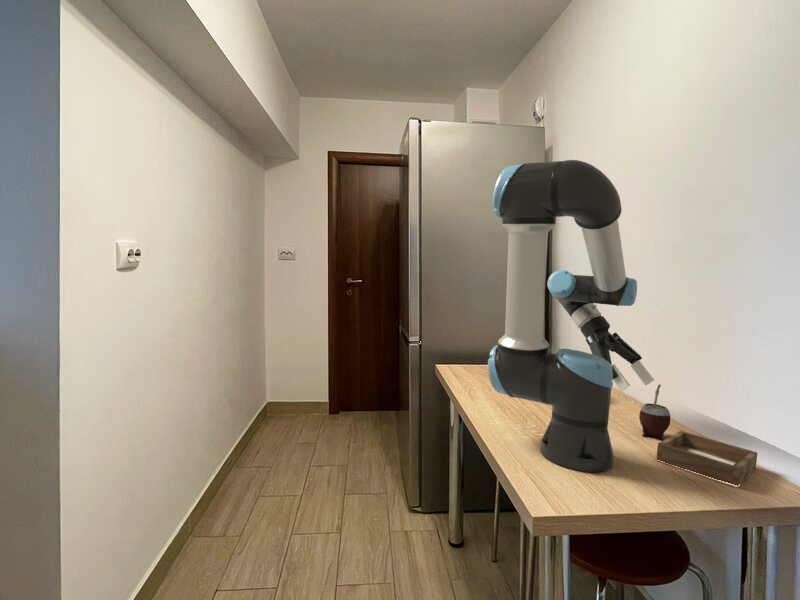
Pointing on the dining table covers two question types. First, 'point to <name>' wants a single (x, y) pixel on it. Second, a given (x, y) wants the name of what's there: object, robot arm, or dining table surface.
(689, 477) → the dining table surface
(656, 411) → the mate gourd
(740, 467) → the tray
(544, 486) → the dining table surface
